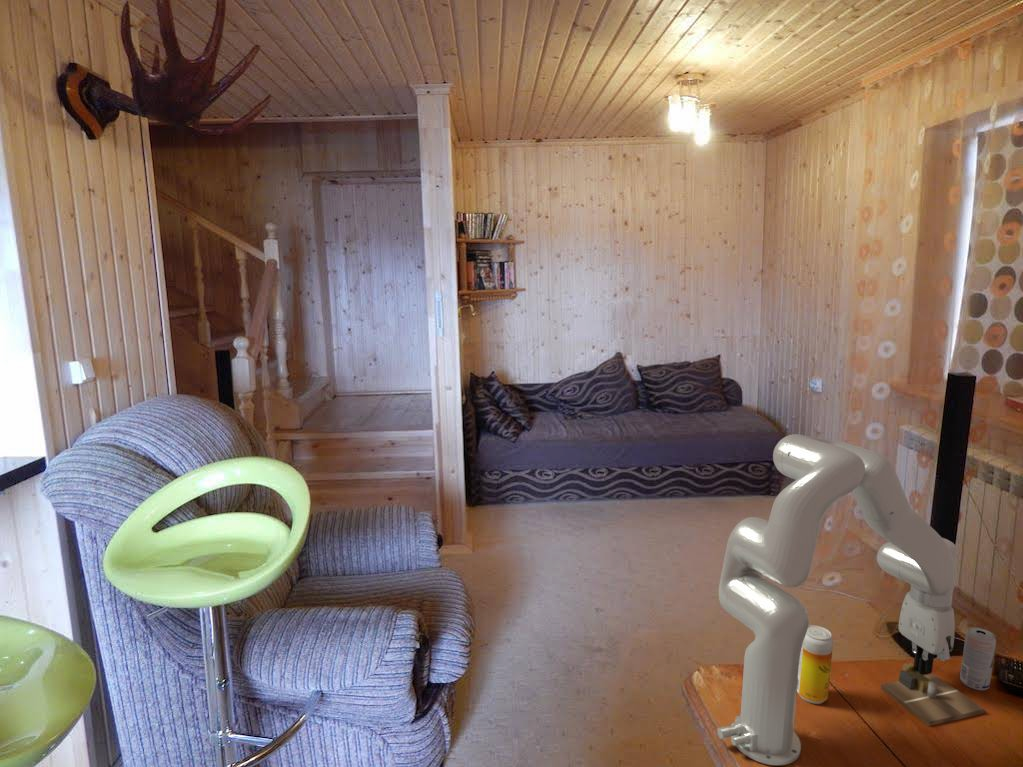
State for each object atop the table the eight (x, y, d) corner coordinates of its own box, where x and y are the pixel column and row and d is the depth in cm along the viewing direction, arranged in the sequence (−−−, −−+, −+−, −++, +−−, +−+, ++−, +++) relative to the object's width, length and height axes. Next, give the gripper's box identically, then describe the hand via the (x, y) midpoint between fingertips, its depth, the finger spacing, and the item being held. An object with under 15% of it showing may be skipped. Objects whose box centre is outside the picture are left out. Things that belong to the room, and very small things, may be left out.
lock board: (928, 726, 131) (931, 708, 130) (881, 688, 142) (882, 672, 142) (983, 713, 135) (986, 695, 134) (932, 677, 146) (934, 661, 145)
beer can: (830, 707, 137) (837, 641, 134) (799, 703, 138) (805, 638, 135) (823, 688, 143) (829, 625, 140) (793, 685, 144) (798, 622, 141)
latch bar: (929, 690, 140) (931, 676, 139) (922, 692, 139) (923, 678, 139) (909, 676, 145) (910, 662, 144) (901, 678, 144) (903, 664, 143)
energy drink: (988, 681, 145) (995, 631, 143) (990, 694, 140) (997, 643, 138) (959, 673, 148) (965, 624, 145) (959, 686, 143) (966, 635, 141)
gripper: (887, 580, 146) (880, 655, 149) (948, 616, 131) (938, 697, 135) (915, 575, 148) (907, 649, 151) (977, 610, 133) (967, 690, 137)
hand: (922, 671), depth 143 cm, fingers closed
